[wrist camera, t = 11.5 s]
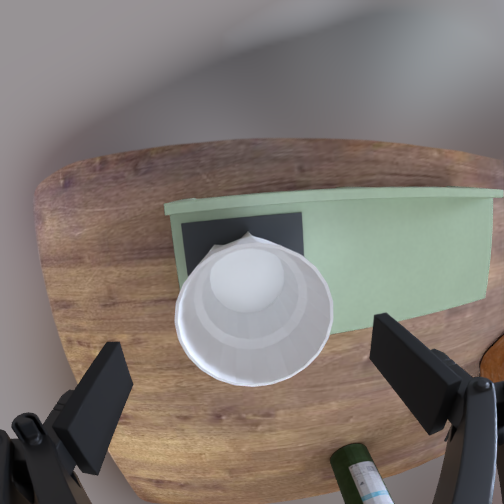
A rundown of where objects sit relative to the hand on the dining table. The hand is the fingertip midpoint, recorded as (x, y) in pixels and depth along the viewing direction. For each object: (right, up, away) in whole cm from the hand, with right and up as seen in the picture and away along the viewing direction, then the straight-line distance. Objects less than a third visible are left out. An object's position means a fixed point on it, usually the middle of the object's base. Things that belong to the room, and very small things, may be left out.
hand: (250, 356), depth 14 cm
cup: (0, +3, +14) cm, 14 cm away
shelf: (+12, +6, +23) cm, 27 cm away
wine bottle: (+19, -36, +33) cm, 52 cm away
